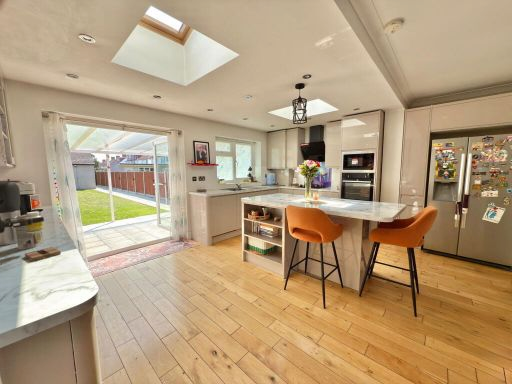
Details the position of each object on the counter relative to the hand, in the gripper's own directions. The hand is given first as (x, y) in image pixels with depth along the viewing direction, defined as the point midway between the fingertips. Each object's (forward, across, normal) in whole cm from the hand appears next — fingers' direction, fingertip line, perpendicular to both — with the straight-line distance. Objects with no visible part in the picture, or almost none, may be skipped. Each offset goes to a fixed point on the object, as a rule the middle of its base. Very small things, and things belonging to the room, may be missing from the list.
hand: (41, 218), depth 100 cm
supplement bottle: (-3, 0, +6) cm, 7 cm away
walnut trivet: (-4, -12, +15) cm, 20 cm away
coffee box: (-2, +12, +16) cm, 20 cm away
